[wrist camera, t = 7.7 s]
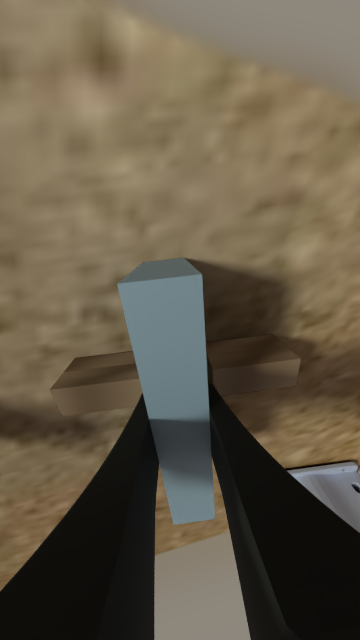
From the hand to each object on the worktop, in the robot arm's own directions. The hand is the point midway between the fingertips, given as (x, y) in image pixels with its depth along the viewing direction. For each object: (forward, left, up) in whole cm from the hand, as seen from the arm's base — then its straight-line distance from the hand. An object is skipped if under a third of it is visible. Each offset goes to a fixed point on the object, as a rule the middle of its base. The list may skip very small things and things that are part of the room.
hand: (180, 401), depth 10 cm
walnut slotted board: (0, 0, -4) cm, 4 cm away
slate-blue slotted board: (0, 0, -4) cm, 4 cm away
